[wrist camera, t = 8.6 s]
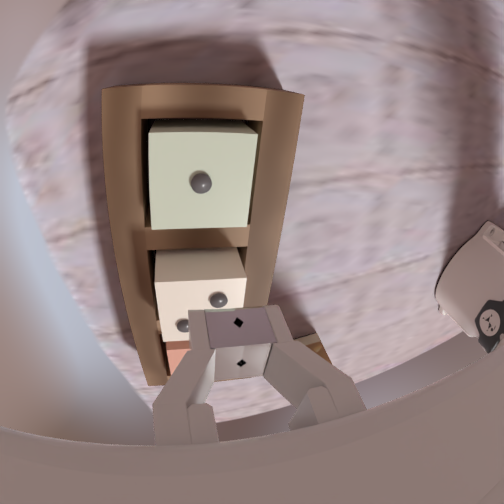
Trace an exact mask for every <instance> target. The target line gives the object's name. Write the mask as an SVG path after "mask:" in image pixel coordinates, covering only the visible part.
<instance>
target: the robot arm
mask: <svg viewBox="0 0 504 504" xmlns="http://www.w3.org/2000/svg"><path fill="white" fill-rule="evenodd" d="M435 297H436V301H437V302H438V303H439V305H440V306H439V312H440V313H441V314H442V315H443V316H444V315H447V314H448V315H449V316H450V317H451V318H452V319H453V320H454V321H455V323H456V324H457V325H458V326H459V327H460V328H461V329H462V330H463V331H464V332H465V333H466V334H467V335H468V336H470V337H478V338H479V339H478V341H479V343H480V344H481V345H482V347H483V349H484V350H485V351H486V352H487V353H488V354H487V355H485V356H484V357H482V358H480V359H478V360H477V361H475V362H473V363H472V364H470V365H468V366H466V367H464V368H462V369H460V370H458V371H457V372H455V373H453V374H451V375H449V376H447V377H445V378H443V379H441V380H439V381H436V382H434V383H432V384H430V385H428V386H426V387H424V388H421V389H419V390H417V391H414V392H412V393H409V394H407V395H405V396H402V397H400V398H397V399H395V400H392V401H390V402H387V403H384V404H382V405H379V406H376V407H373V408H370V409H366V407H365V405H364V403H363V401H362V399H361V397H360V395H359V392H358V390H357V388H356V386H355V384H354V382H353V380H352V378H351V377H349V376H348V375H346V374H345V373H343V372H342V371H340V370H339V369H338V368H336V367H335V366H333V365H332V364H330V363H329V362H327V361H326V360H325V359H323V358H322V357H320V356H319V355H318V354H316V353H315V352H313V351H312V350H311V349H309V348H308V347H306V346H305V345H304V344H302V343H301V342H299V341H298V340H297V341H294V340H293V338H292V336H291V333H290V331H289V328H288V326H287V324H286V321H285V319H284V316H283V314H282V312H281V309H280V307H279V306H278V305H267V306H255V307H242V308H230V309H204V310H188V330H189V348H190V350H189V351H187V352H186V354H185V355H184V357H183V358H182V360H181V361H180V363H179V364H178V366H177V367H176V369H175V371H174V372H173V374H172V375H171V377H170V378H169V380H168V381H167V383H166V384H165V386H164V387H163V389H162V391H161V392H160V394H159V395H158V397H157V398H156V400H155V401H154V403H153V420H154V422H153V423H154V437H155V446H135V445H112V444H111V445H110V444H98V443H88V442H78V441H71V440H64V439H57V438H51V437H45V436H40V435H35V434H30V433H25V432H21V431H17V430H13V429H9V428H5V427H1V426H0V504H504V230H503V229H501V228H500V227H498V226H496V225H495V224H493V223H492V222H490V221H487V222H486V223H485V224H484V225H483V226H482V228H481V229H480V230H479V232H478V233H477V234H476V235H475V236H474V237H473V238H472V239H470V240H469V241H468V242H467V243H466V244H465V245H464V246H463V247H462V248H461V249H460V250H459V251H458V252H457V253H456V255H455V256H454V257H453V258H452V260H451V261H450V263H449V264H448V266H447V267H446V269H445V270H444V272H443V274H442V276H441V278H440V280H439V283H438V285H437V289H436V294H435ZM256 376H263V377H264V378H265V379H266V380H267V381H268V382H269V383H270V384H271V385H272V386H273V387H274V388H275V389H276V390H277V391H278V392H279V393H280V394H281V395H282V396H283V397H285V398H286V399H287V400H288V401H289V402H290V403H291V404H292V405H293V406H294V407H295V408H296V409H297V410H296V412H295V414H294V415H293V417H292V419H291V420H290V422H289V424H288V425H289V428H290V431H287V432H281V433H277V434H271V435H266V436H260V437H254V438H248V439H240V440H232V441H225V442H219V437H218V433H217V428H216V423H215V418H214V413H213V408H212V406H210V405H209V404H207V403H205V401H206V399H207V396H208V394H209V392H210V390H211V388H212V386H213V384H214V381H219V380H228V379H236V378H246V377H256Z"/></svg>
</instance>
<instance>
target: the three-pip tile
mask: <svg viewBox="0 0 504 504" xmlns="http://www.w3.org/2000/svg"><path fill="white" fill-rule="evenodd" d="M166 350H167V356H168V362H169V367H170V372H171V375H172V374H173V372H174V371H175V369H176V367H177V366H178V364H179V363H180V361H181V360H182V358H183V357H184V355H185V354H186V352H187V351H189V350H190V348H189V340H185V341H167V342H166Z"/></svg>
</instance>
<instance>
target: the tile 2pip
mask: <svg viewBox="0 0 504 504" xmlns="http://www.w3.org/2000/svg"><path fill="white" fill-rule="evenodd" d="M246 281H247V277H246V274H245V271H244V268H243V265H242V262H241V259H240V256H239V253H238V250H237V247H215V248H188V249H162V250H156V263H155V290H156V298H157V305H158V312H159V319H160V325H161V331H162V337H163V342H167V341H185V340H189V330H188V310H204V309H230V308H242V307H243V304H244V296H245V288H246Z"/></svg>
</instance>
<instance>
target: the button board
mask: <svg viewBox="0 0 504 504" xmlns="http://www.w3.org/2000/svg"><path fill="white" fill-rule="evenodd" d="M304 96H305V95H303V94H299V93H295V92H290V91H286V90H280V89H272V88H264V87H254V86H244V85H231V84H212V83H150V84H132V85H119V86H113V87H108V88H104V89H102V146H103V163H104V176H105V187H106V197H107V205H108V213H109V221H110V228H111V235H112V241H113V247H114V253H115V259H116V264H117V269H118V274H119V279H120V284H121V289H122V293H123V298H124V302H125V306H126V311H127V315H128V319H129V323H130V326H131V330H132V334H133V338H134V341H135V345H136V348H137V352H138V355H139V358H140V362H141V365H142V368H143V371H144V374H145V377H146V380H147V383H148V386H157V385H165V384H166V383H167V381H168V380H169V378H170V377H171V372H170V367H169V362H168V356H167V350H166V347H165V343H164V342H163V337H162V331H161V325H160V319H159V312H158V305H157V298H156V290H155V270H154V261H153V250H162V249H188V248H215V247H237V250H238V253H239V256H240V259H241V262H242V265H243V268H244V271H245V274H246V277H247V281H246V288H245V296H244V304H243V307H255V306H267V304H268V299H269V294H270V289H271V284H272V278H273V273H274V268H275V263H276V258H277V253H278V247H279V242H280V237H281V231H282V226H283V220H284V215H285V209H286V204H287V198H288V193H289V187H290V181H291V176H292V170H293V164H294V158H295V152H296V146H297V140H298V134H299V128H300V121H301V115H302V109H303V102H304ZM150 118H223V119H243V120H248V122H247V126H248V127H250V128H251V129H252V130H253V131H255V132H256V133H257V134H258V138H257V146H256V154H255V163H254V171H253V179H252V188H251V196H250V204H249V213H248V221H247V227H224V228H188V229H159V230H152V227H151V211H150V202H149V189H148V119H150ZM246 378H251V377H246ZM236 379H243V378H236ZM228 380H235V379H228ZM219 381H226V380H219ZM214 382H217V381H214Z"/></svg>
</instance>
